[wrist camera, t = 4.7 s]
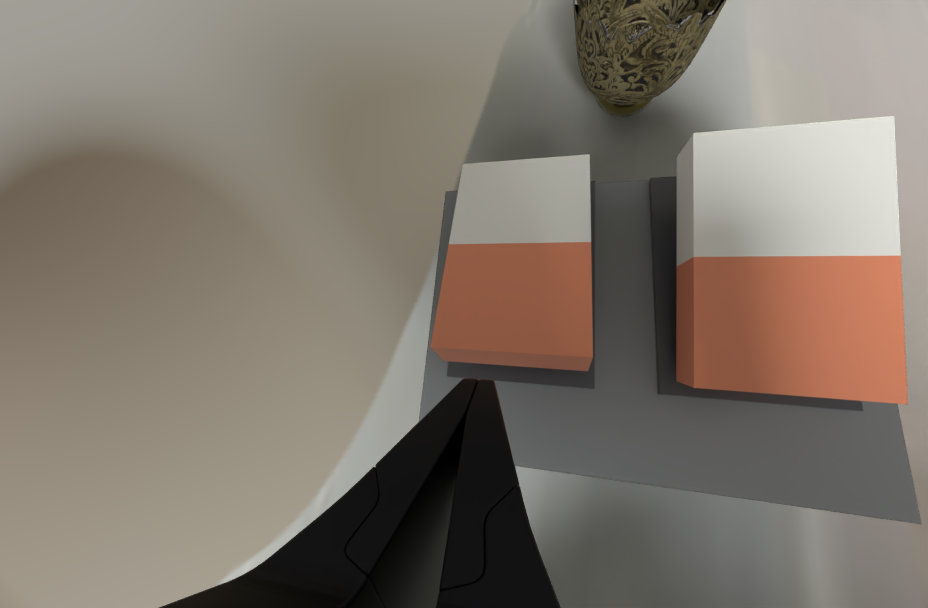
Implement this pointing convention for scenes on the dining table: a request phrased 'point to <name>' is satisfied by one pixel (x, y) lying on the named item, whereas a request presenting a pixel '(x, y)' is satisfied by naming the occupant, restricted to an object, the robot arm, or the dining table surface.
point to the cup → (638, 46)
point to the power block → (677, 392)
